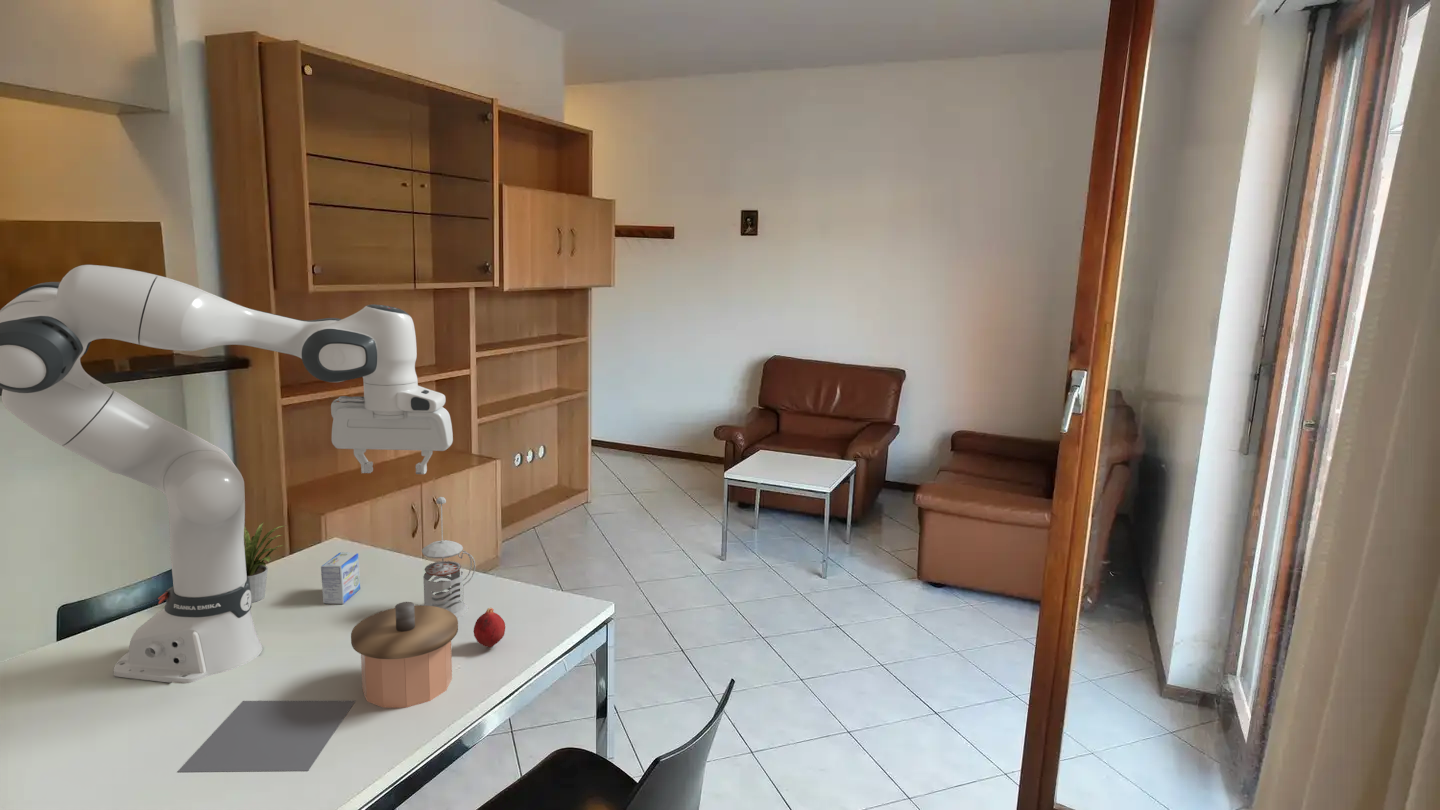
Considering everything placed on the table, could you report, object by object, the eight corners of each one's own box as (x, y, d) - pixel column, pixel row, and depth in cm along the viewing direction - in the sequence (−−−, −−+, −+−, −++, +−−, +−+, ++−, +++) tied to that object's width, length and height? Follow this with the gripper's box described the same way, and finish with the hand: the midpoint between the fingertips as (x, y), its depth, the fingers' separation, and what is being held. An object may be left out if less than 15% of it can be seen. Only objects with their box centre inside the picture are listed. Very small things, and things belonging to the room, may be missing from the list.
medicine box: (343, 605, 166) (341, 566, 164) (322, 604, 166) (320, 565, 164) (360, 589, 173) (359, 552, 172) (340, 588, 173) (338, 551, 172)
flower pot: (351, 710, 129) (348, 654, 127) (380, 665, 143) (378, 614, 141) (438, 709, 130) (436, 654, 128) (459, 666, 144) (458, 615, 142)
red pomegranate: (496, 656, 148) (495, 617, 146) (468, 652, 149) (467, 613, 147) (510, 642, 153) (510, 604, 152) (483, 638, 154) (482, 600, 153)
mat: (177, 775, 112) (177, 771, 112) (243, 703, 129) (242, 700, 129) (308, 773, 113) (308, 770, 113) (355, 703, 131) (355, 700, 131)
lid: (334, 659, 125) (332, 629, 124) (372, 611, 142) (371, 584, 141) (443, 659, 127) (442, 629, 126) (468, 611, 143) (467, 585, 142)
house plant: (310, 588, 172) (305, 518, 169) (261, 616, 159) (256, 540, 156) (254, 580, 175) (249, 511, 172) (202, 607, 162) (195, 532, 159)
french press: (411, 608, 165) (407, 495, 160) (464, 594, 173) (462, 485, 168) (430, 626, 158) (426, 507, 153) (484, 610, 166) (482, 497, 161)
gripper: (322, 399, 134) (327, 476, 137) (445, 402, 136) (447, 478, 139) (337, 392, 140) (341, 466, 143) (454, 395, 142) (456, 469, 145)
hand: (394, 472), depth 141 cm, fingers open, 8 cm apart
